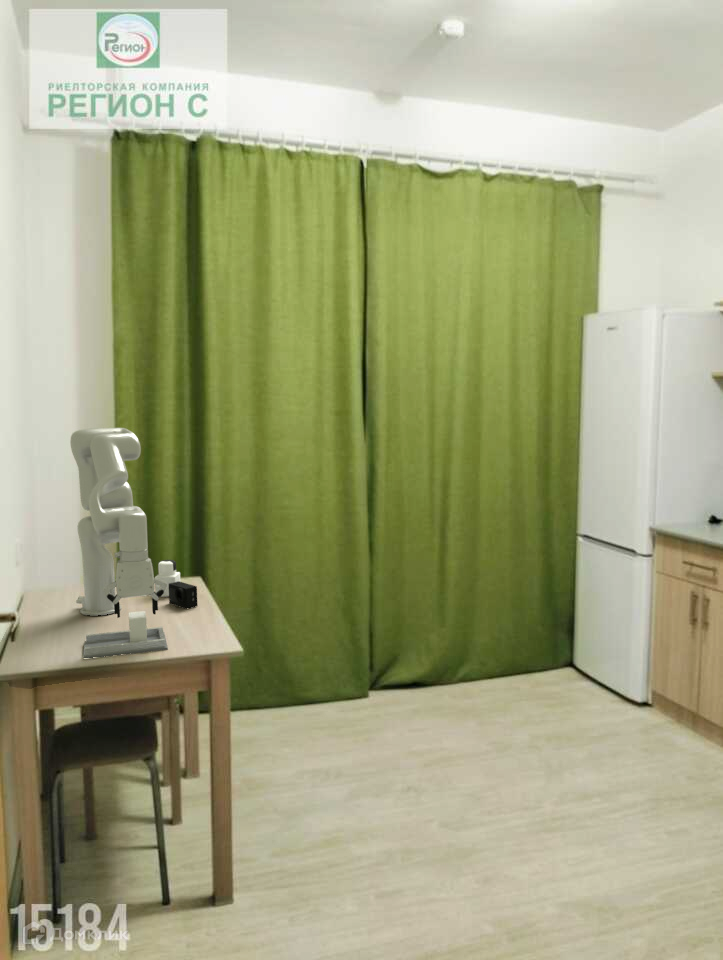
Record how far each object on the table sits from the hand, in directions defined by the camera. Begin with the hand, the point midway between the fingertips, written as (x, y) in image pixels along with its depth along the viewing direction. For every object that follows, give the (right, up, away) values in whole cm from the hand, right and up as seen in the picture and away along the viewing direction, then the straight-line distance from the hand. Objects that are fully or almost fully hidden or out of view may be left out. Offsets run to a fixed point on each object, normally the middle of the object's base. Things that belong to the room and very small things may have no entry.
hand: (136, 614), depth 213 cm
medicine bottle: (-5, -3, +53) cm, 54 cm away
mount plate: (-3, -9, -1) cm, 9 cm away
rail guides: (-3, -9, -1) cm, 9 cm away
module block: (0, -8, +1) cm, 8 cm away
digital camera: (+3, -4, +40) cm, 40 cm away
